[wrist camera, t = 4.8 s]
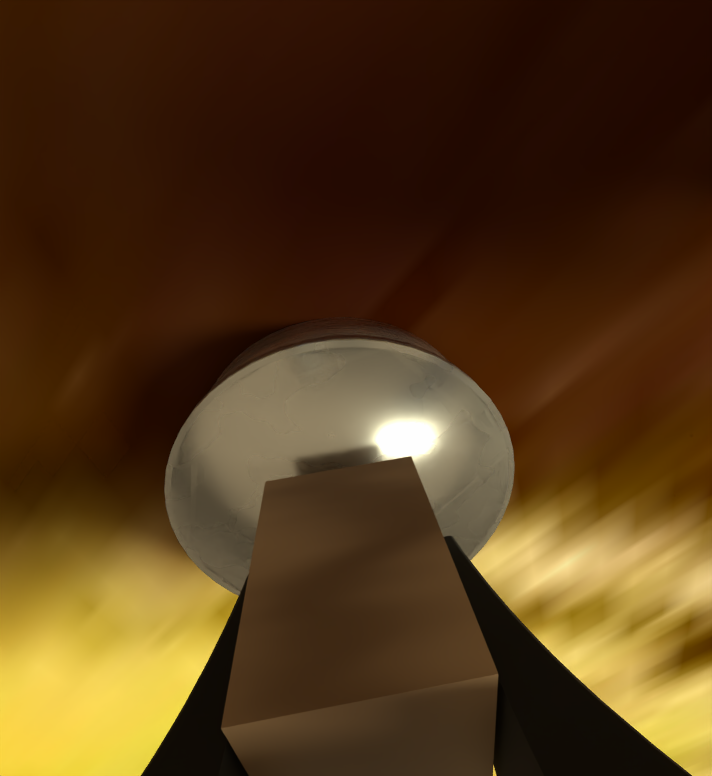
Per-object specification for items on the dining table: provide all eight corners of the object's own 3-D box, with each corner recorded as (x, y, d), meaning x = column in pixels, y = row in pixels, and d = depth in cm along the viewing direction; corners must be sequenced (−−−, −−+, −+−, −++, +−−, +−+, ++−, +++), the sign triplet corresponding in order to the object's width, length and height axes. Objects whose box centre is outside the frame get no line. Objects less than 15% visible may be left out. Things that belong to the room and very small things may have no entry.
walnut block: (411, 455, 11) (498, 674, 6) (419, 557, 13) (491, 791, 8) (265, 481, 11) (221, 728, 6) (295, 580, 13) (283, 833, 8)
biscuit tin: (489, 297, 14) (539, 322, 11) (466, 532, 20) (495, 593, 17) (156, 325, 13) (109, 360, 10) (228, 563, 19) (211, 633, 16)
